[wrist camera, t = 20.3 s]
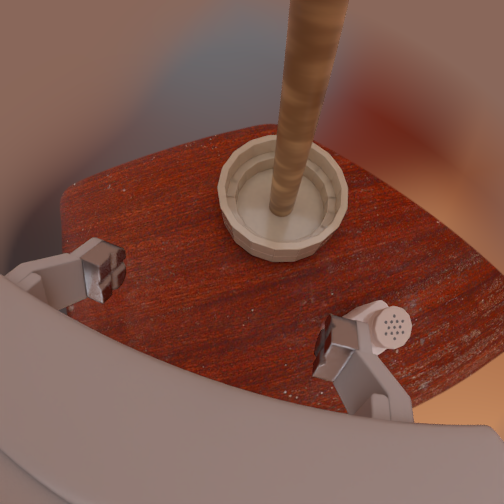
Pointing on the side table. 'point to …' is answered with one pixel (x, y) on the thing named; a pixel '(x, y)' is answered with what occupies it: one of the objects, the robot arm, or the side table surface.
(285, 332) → the side table surface
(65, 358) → the robot arm
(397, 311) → the salt shaker
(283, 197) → the stirring stick
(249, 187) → the bowl
